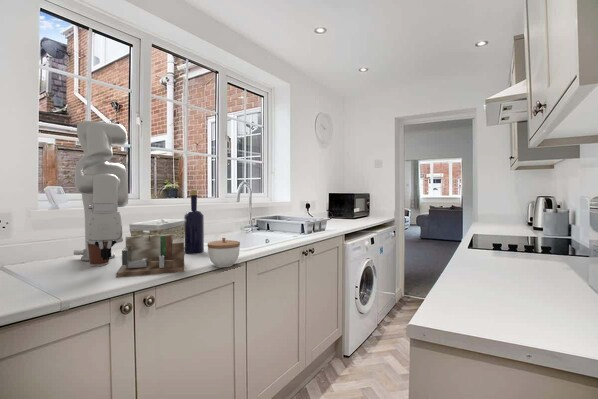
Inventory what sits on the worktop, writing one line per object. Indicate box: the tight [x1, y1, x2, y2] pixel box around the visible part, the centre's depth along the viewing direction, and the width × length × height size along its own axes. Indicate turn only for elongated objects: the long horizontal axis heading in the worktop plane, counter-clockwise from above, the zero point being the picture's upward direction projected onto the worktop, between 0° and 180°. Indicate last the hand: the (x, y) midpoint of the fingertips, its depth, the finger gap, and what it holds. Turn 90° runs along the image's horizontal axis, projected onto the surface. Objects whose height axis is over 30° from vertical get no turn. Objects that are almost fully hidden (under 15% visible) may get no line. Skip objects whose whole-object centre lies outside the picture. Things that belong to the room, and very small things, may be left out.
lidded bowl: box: [207, 237, 241, 268], centre depth 127 cm, size 13×13×11 cm
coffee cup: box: [84, 238, 110, 267], centre depth 129 cm, size 9×9×12 cm
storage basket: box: [128, 218, 185, 239], centre depth 159 cm, size 24×16×15 cm
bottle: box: [183, 189, 205, 255], centre depth 153 cm, size 9×9×30 cm
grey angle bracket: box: [121, 245, 148, 268], centre depth 117 cm, size 8×11×7 cm
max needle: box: [159, 241, 164, 268], centre depth 116 cm, size 2×1×10 cm
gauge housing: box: [115, 234, 185, 278], centre depth 120 cm, size 22×15×12 cm
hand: (106, 259), depth 115 cm, fingers closed
